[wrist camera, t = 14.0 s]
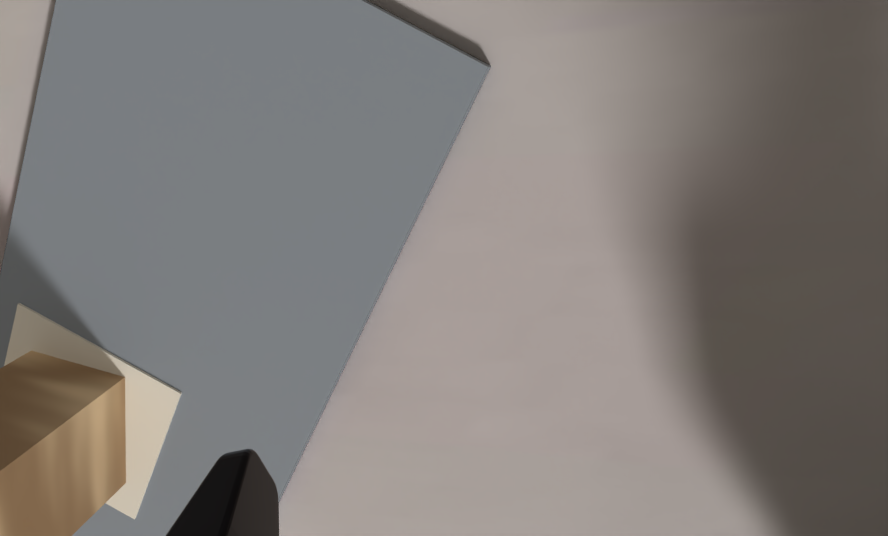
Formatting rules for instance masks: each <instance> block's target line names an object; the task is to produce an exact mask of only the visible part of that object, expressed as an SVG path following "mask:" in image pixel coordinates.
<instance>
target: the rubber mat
mask: <svg viewBox="0 0 888 536" xmlns="http://www.w3.org/2000/svg"><path fill="white" fill-rule="evenodd" d="M490 67H491V66H490V65H488V64H486V63H484V62H482V61H480V60H479V59H477V58H475V57H473V56H471V55H469V54H467V53H465V52H463V51H462V50H460V49H458V48H456V47H454V46H452V45H450V44H448V43H446V42H445V41H443V40H441V39H439V38H437V37H435V36H433V35H431V34H429V33H427V32H426V31H424V30H422V29H420V28H418V27H416V26H414V25H412V24H410V23H409V22H407V21H405V20H403V19H401V18H399V17H397V16H395V15H393V14H391V13H390V12H388V11H386V10H384V9H382V8H380V7H378V6H376V5H374V4H373V3H371V2H369V1H367V0H56V3H55V8H54V13H53V17H52V22H51V27H50V32H49V37H48V42H47V47H46V52H45V57H44V62H43V66H42V71H41V76H40V81H39V86H38V91H37V96H36V101H35V106H34V111H33V116H32V120H31V125H30V130H29V135H28V140H27V145H26V150H25V155H24V160H23V165H22V170H21V174H20V179H19V184H18V189H17V194H16V199H15V204H14V209H13V214H12V219H11V223H10V228H9V233H8V238H7V243H6V248H5V253H4V258H3V263H2V268H1V273H0V368H2V367H4V366H5V365H7V364H9V363H10V362H12V361H14V360H16V359H17V358H19V357H21V356H23V355H24V354H26V353H28V352H29V351H31V350H32V351H35V352H39V353H42V354H46V355H49V356H53V357H56V358H60V359H63V360H67V361H70V362H74V363H77V364H81V365H84V366H88V367H91V368H95V369H98V370H102V371H105V372H109V373H112V374H116V375H119V376H123V377H125V425H126V483H125V484H124V485H123V486H122V487H121V488H120V489H119V490H118V491H117V492H116V493H115V494H114V495H113V496H112V497H111V498H110V499H109V500H108V501H107V502H106V503H105V504H104V505H103V506H102V507H101V508H100V509H99V510H98V511H97V512H96V513H95V514H94V515H93V516H92V517H91V518H89V519H88V520H87V521H86V522H85V523H84V524H83V525H82V526H81V527H80V528H79V529H78V530H77V531H76V532H75V533H74V534H73V535H72V536H166V534H167V533H168V531H169V530H170V528H171V527H172V526H173V524H174V523H175V521H176V520H177V518H178V517H179V515H180V514H181V512H182V511H183V509H184V508H185V507H186V505H187V504H188V502H189V501H190V499H191V498H192V496H193V495H194V493H195V492H196V490H197V489H198V488H199V486H200V485H201V483H202V482H203V480H204V479H205V477H206V476H207V474H208V473H209V471H210V470H211V469H212V467H213V466H214V464H215V463H216V461H217V460H218V459H219V458H220V457H221V456H222V455H223V454H225V453H228V452H233V451H239V450H244V449H252V450H254V451H255V452H256V453H257V454H258V456H259V457H260V459H261V461H262V462H263V464H264V465H265V467H266V469H267V470H268V472H269V474H270V475H271V477H272V478H273V480H274V482H275V484H276V487H277V492H278V503H279V501H280V499H281V497H282V495H283V493H284V491H285V489H286V487H287V485H288V483H289V481H290V479H291V476H292V474H293V472H294V470H295V468H296V466H297V464H298V462H299V460H300V458H301V456H302V454H303V452H304V450H305V448H306V446H307V444H308V442H309V439H310V437H311V435H312V433H313V431H314V429H315V427H316V425H317V423H318V421H319V419H320V417H321V415H322V413H323V411H324V409H325V407H326V404H327V402H328V400H329V398H330V396H331V394H332V392H333V390H334V388H335V386H336V384H337V382H338V380H339V378H340V376H341V374H342V372H343V370H344V367H345V365H346V363H347V361H348V359H349V357H350V355H351V353H352V351H353V349H354V347H355V345H356V343H357V341H358V339H359V337H360V335H361V333H362V330H363V328H364V326H365V324H366V322H367V320H368V318H369V316H370V314H371V312H372V310H373V308H374V306H375V304H376V302H377V300H378V298H379V295H380V293H381V291H382V289H383V287H384V285H385V283H386V281H387V279H388V277H389V275H390V273H391V271H392V269H393V267H394V265H395V263H396V261H397V258H398V256H399V254H400V252H401V250H402V248H403V246H404V244H405V242H406V240H407V238H408V236H409V234H410V232H411V230H412V228H413V226H414V223H415V221H416V219H417V217H418V215H419V213H420V211H421V209H422V207H423V205H424V203H425V201H426V199H427V197H428V195H429V193H430V191H431V189H432V186H433V184H434V182H435V180H436V178H437V176H438V174H439V172H440V170H441V168H442V166H443V164H444V162H445V160H446V158H447V156H448V154H449V152H450V149H451V147H452V145H453V143H454V141H455V139H456V137H457V135H458V133H459V131H460V129H461V127H462V125H463V123H464V121H465V119H466V117H467V114H468V112H469V110H470V108H471V106H472V104H473V102H474V100H475V98H476V96H477V94H478V92H479V90H480V88H481V86H482V84H483V82H484V80H485V77H486V75H487V73H488V71H489V69H490Z"/></svg>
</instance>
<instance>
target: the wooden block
mask: <svg viewBox="0 0 888 536" xmlns="http://www.w3.org/2000/svg"><path fill="white" fill-rule="evenodd" d="M125 483H126V425H125V377H123V376H119V375H116V374H112V373H109V372H105V371H102V370H98V369H95V368H91V367H88V366H84V365H81V364H77V363H74V362H70V361H67V360H63V359H60V358H56V357H53V356H49V355H46V354H42V353H39V352H35V351H32V350H31V351H29V352H28V353H26V354H24V355H23V356H21V357H19V358H17V359H16V360H14V361H12V362H10V363H9V364H7V365H5V366H4V367H2V368H0V536H72V535H73V534H74V533H75V532H76V531H77V530H78V529H79V528H80V527H81V526H82V525H83V524H84V523H85V522H86V521H87V520H88V519H89V518H91V517H92V516H93V515H94V514H95V513H96V512H97V511H98V510H99V509H100V508H101V507H102V506H103V505H104V504H105V503H106V502H107V501H108V500H109V499H110V498H111V497H112V496H113V495H114V494H115V493H116V492H117V491H118V490H119V489H120V488H121V487H122V486H123V485H124V484H125Z"/></svg>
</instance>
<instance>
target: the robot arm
mask: <svg viewBox="0 0 888 536" xmlns="http://www.w3.org/2000/svg"><path fill="white" fill-rule="evenodd" d="M166 536H279V503H278V492H277V487H276V484H275V482H274V480H273V478H272V477H271V475H270V474H269V472H268V470H267V469H266V467H265V465H264V464H263V462H262V461H261V459H260V457H259V456H258V454H257V453H256V452H255V451H254V450H252V449H244V450H239V451H233V452H228V453H225V454H223V455H222V456H221V457H220V458H219V459H218V460H217V461H216V463H215V464H214V466H213V467H212V469H211V470H210V471H209V473H208V474H207V476H206V477H205V479H204V480H203V482H202V483H201V485H200V486H199V488H198V489H197V490H196V492H195V493H194V495H193V496H192V498H191V499H190V501H189V502H188V504H187V505H186V507H185V508H184V509H183V511H182V512H181V514H180V515H179V517H178V518H177V520H176V521H175V523H174V524H173V526H172V527H171V528H170V530H169V531H168V533H167V534H166Z"/></svg>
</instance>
